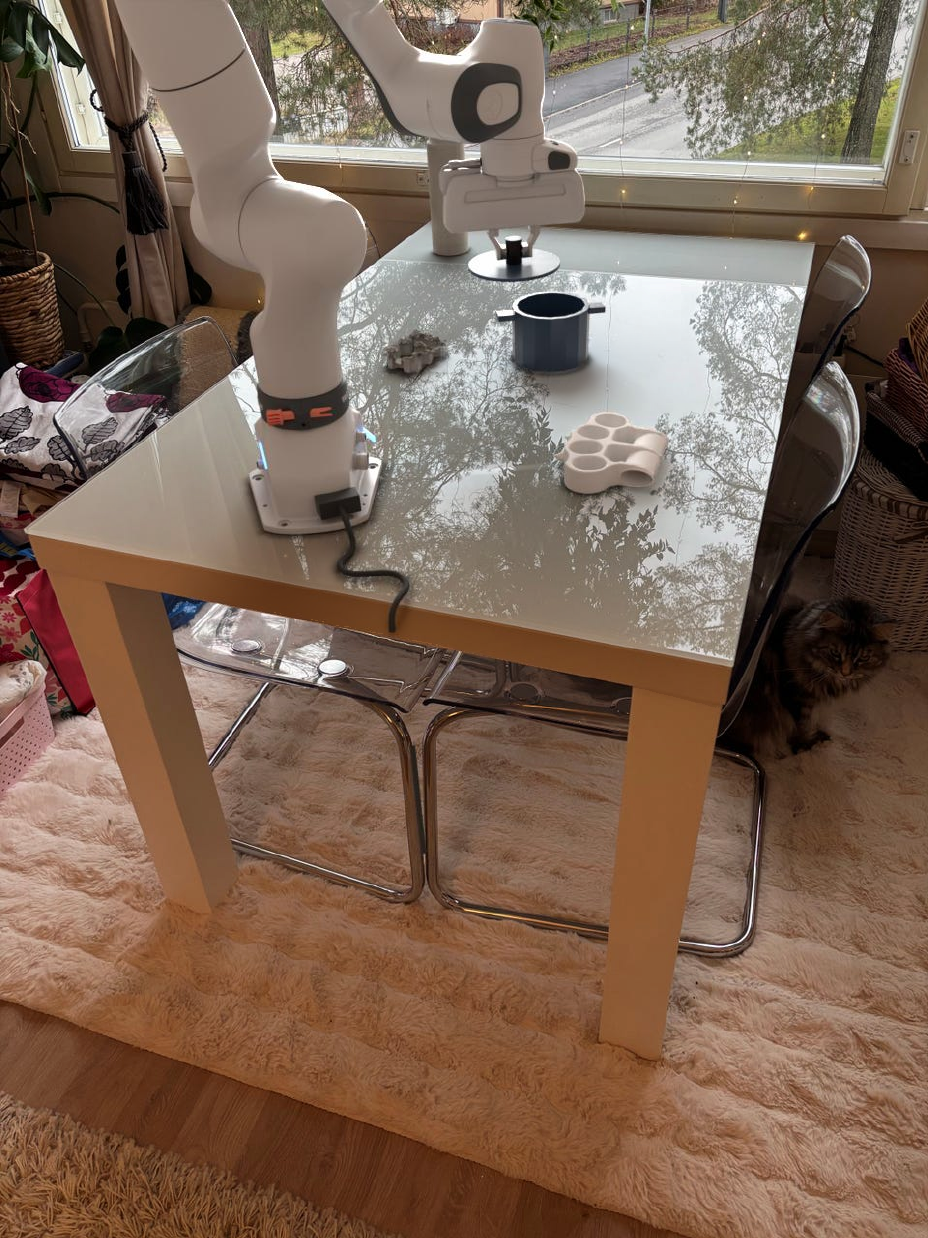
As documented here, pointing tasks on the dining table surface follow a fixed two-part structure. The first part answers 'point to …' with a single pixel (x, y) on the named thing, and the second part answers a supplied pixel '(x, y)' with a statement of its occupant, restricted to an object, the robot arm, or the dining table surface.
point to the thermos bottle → (438, 158)
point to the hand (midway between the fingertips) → (514, 257)
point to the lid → (514, 264)
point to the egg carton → (422, 347)
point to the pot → (550, 330)
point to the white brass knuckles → (611, 454)
